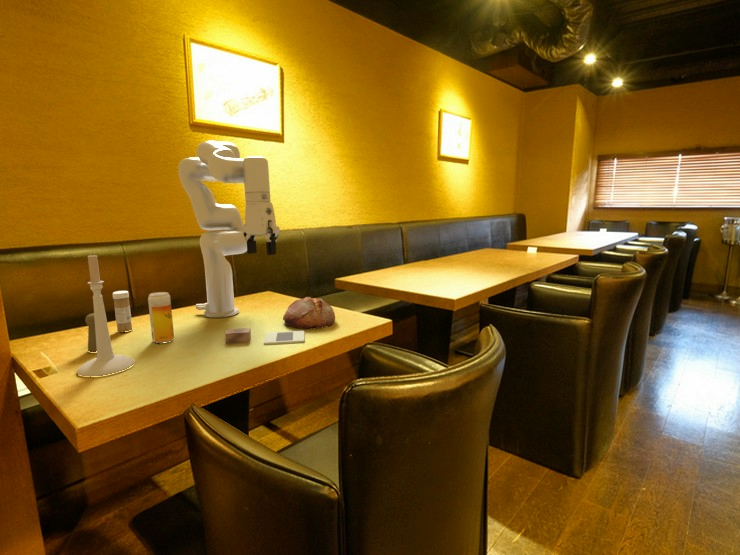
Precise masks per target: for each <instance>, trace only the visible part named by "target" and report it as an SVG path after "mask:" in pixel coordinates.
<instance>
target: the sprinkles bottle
mask: <svg viewBox="0 0 740 555" xmlns="http://www.w3.org/2000/svg"><path fill="white" fill-rule="evenodd" d="M129 295H130V294H129V291H128V290H117V291H113V292H112V300H113V305H114V313H115V314H114V315H115V322H116V328H117V330H116V331H118V332H117V333H119V332H125V331H129V330H132V328H133V324H132V314H131V306H130V300H129V299H130V298H129V297H130V296H129ZM132 331H133V330H132ZM125 333H126V332H125Z"/></svg>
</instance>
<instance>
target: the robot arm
mask: <svg viewBox="0 0 740 555" xmlns="http://www.w3.org/2000/svg"><path fill="white" fill-rule="evenodd" d="M196 155H197V156H195V157H186V158H183V159H181V160H180V161H179V163H178V177H179V180H180V183H181V186H182V188H183V189H184V191H185V193H186V194H187V196H188V198H189V200H190V203H191V206H192V209H193V213H194V216H195V219H196V221H197V224H198V226H199V228H200V229H201V230H205V232H204V233H202V234H201V236H200V238H199V245H200V246H199V247H200V250H201V255H202V258H203V264H204V265H203V266H204V273H205V274H204V276H205V289H206V300H207V302H205V303H196V304H195V309H196V310H198V311H200V310H201V311H202V310H204V311H203V315H204V317H206V318H207V317H208V318H212V319H213V318H215V319H217V318H228V317H232V316H235V315H237V314H239V313H240V309H239V308H238V307H236V306H235V297H234V296H235V295H234V283H233V282H234V281H233V269H232V265H231V263H230V262H229V261H228V260H227V259H226V256H231V255H232V256H234V255H240V254H245V253H247V254H248V255H250V254H256V253H257V252H258V250H257V240H256V237H257V236H260V237H263V236H264V237H265V239H266V241H267V242H266V243H265V246H266V255H267V256H273V255H277V243H276V242H277V241H278V238H279V233H280V229H281V228H280V227H279V225H277V223H276V222H277V221H276V215H275V208H274V205H273V203H272V202H271V187H270V174H269V161H268V160H267V158H266V157H264V156H263V157H262V156H247V157H244V158H241V152H240V149H239V147H238V146H237V145H236V144H234V143H233V142H229V141H216V140H206V141H203V142H201V143H199V144H198V146H197V147H196ZM203 182H220V183H224V184H243V187H244V200H245V206H244V208H245V209H244V221H243V219H242V218H243V217H242V215H241V213H240V211H239V209H238V208H237V207H236V206H235V205H233V204H229V203H228V204H226V203H224V204H223V203H221V204H220V203H218V202H217V201H216V199H215V196H214V194H213V192H212V190H211V189H210V188H209V187H208V186H207V185H205V184H204V183H203Z"/></svg>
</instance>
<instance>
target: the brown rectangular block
mask: <svg viewBox="0 0 740 555" xmlns="http://www.w3.org/2000/svg"><path fill="white" fill-rule="evenodd" d="M224 338H225V345H236V344H237V345H238V344H247V343H248V344H249V343H250V344H251V338H252V333H251V327H244V328H243V327H242V328H229V329H226V331H225V333H224Z"/></svg>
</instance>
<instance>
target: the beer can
mask: <svg viewBox="0 0 740 555" xmlns="http://www.w3.org/2000/svg"><path fill="white" fill-rule="evenodd" d="M171 300H172V299H171V295H170V294H169V292H167V291H157V292H151V293H149V294H148V297H147V302H148V310H149V313H148V314H149V322H150V330H151V341H152V342H153V343H155V342H156V343H163V342H168V343H170V342H169V341H171V340H172V339H174V338H175V334H174V332H175V331H174V323H173V321H174V320H173V311H172V301H171ZM172 341H173V340H172ZM172 341H171V342H172ZM156 343H155V344H156Z"/></svg>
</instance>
